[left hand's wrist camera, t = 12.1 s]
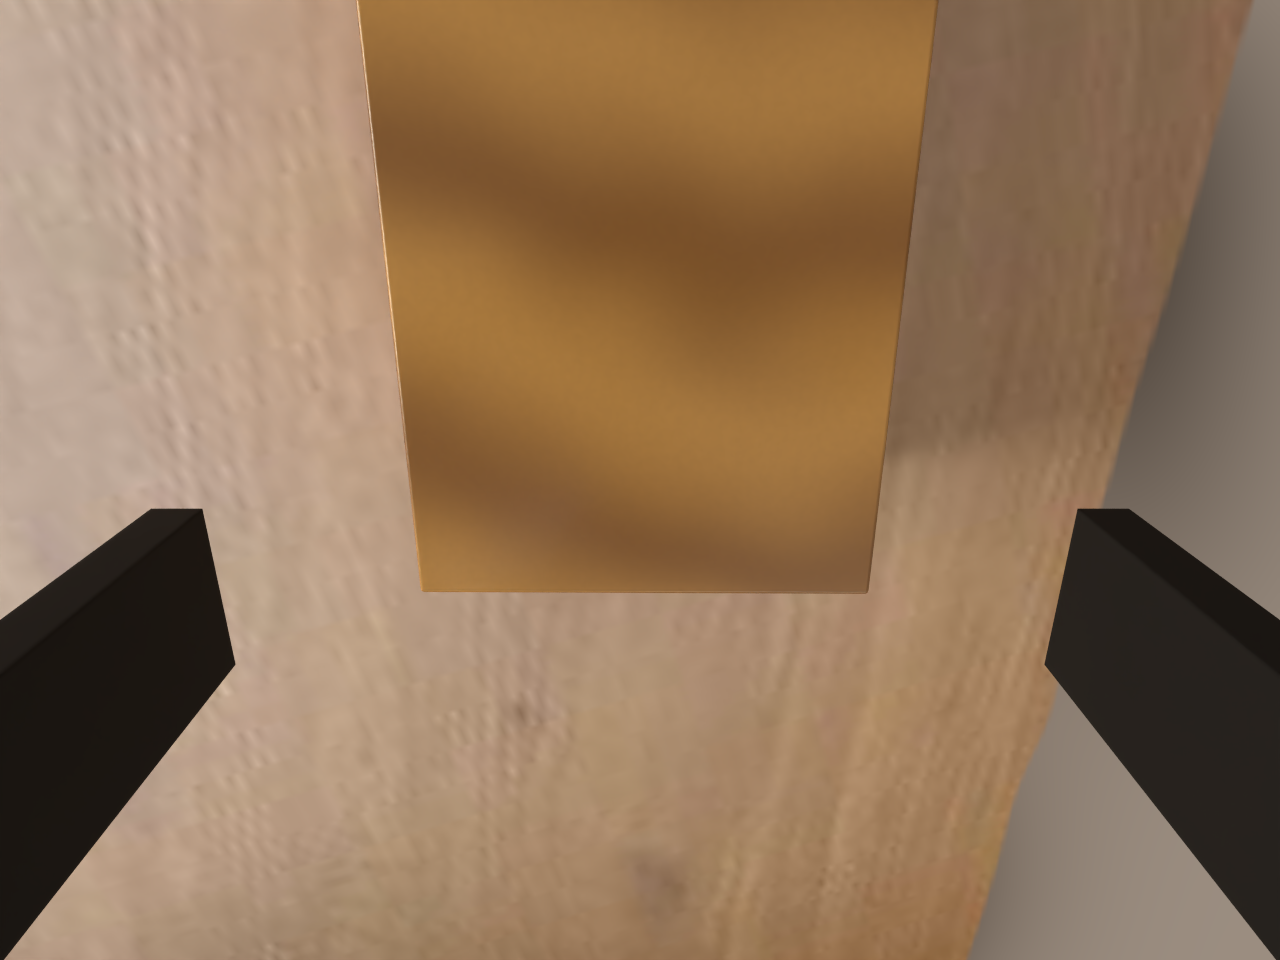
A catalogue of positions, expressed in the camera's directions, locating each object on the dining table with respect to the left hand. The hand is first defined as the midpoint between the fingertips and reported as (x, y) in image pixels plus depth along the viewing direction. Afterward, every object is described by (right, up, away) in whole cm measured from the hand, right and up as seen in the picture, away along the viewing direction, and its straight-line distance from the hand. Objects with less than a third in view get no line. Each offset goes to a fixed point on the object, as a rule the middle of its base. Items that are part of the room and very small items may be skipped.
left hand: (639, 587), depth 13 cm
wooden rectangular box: (0, +11, +12) cm, 16 cm away
